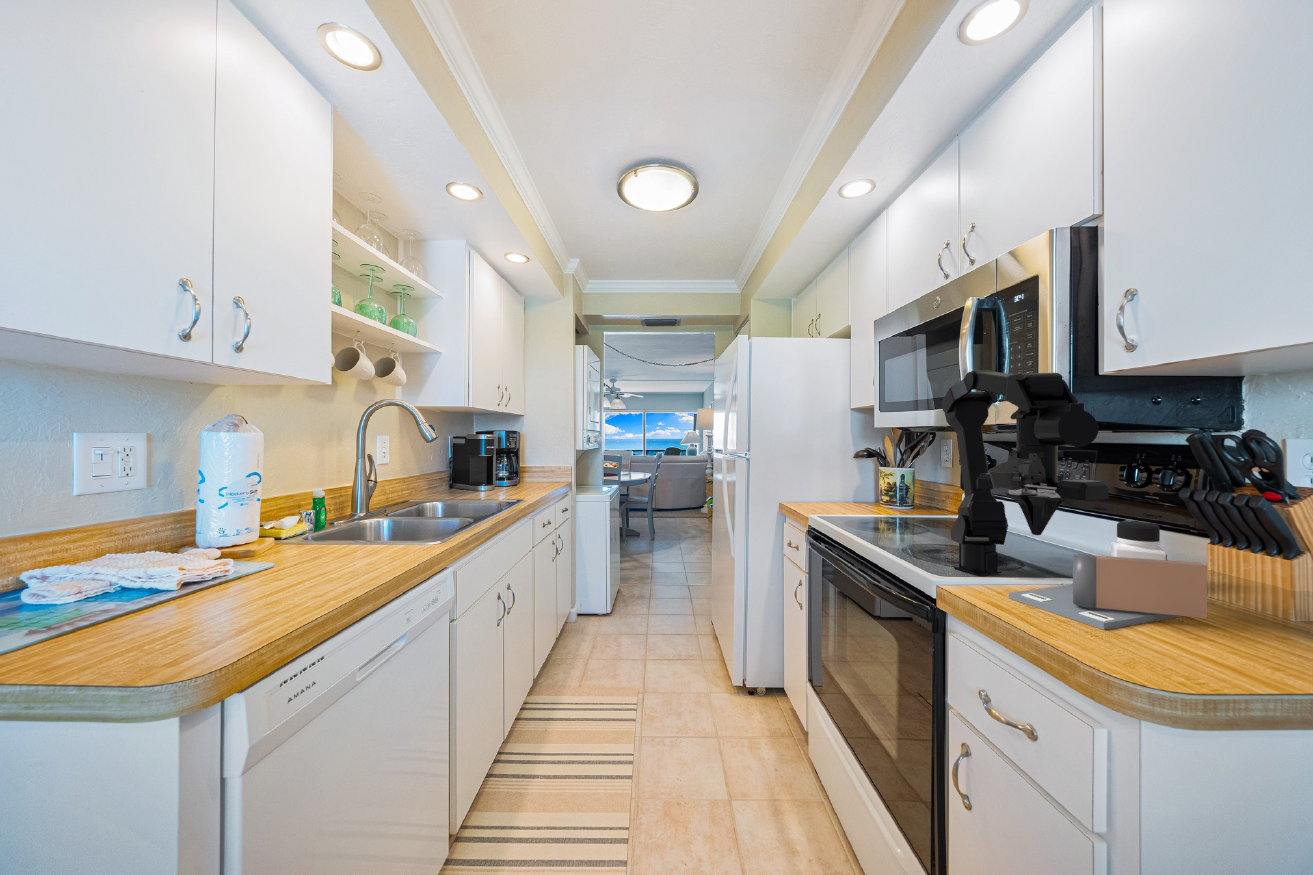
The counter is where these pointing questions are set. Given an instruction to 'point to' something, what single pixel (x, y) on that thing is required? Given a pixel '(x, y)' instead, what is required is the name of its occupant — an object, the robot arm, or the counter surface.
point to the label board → (1082, 608)
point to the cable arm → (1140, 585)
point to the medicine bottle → (1138, 541)
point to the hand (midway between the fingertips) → (1036, 534)
